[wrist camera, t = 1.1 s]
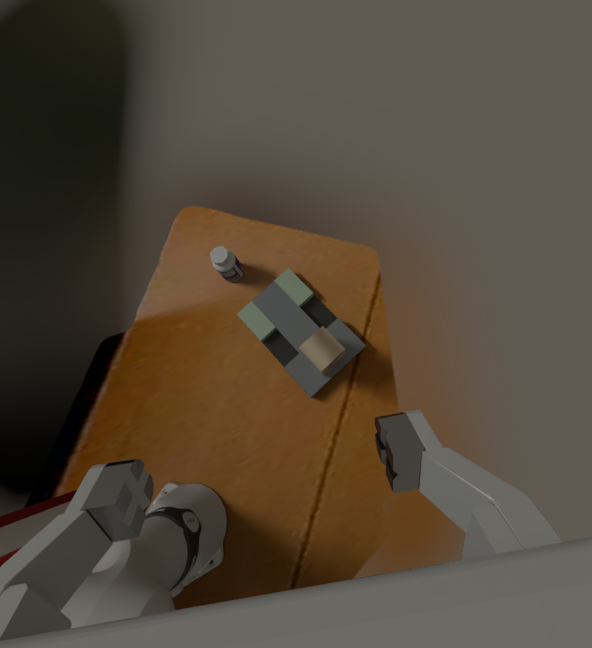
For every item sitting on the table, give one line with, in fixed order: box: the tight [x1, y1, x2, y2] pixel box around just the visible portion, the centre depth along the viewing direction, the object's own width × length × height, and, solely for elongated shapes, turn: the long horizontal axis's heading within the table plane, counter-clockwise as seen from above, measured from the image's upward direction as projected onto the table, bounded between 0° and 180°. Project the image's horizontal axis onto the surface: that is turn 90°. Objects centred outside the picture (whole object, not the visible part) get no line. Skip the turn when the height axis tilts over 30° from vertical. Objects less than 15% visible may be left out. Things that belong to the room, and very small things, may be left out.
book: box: [0, 490, 92, 574], centre depth 50 cm, size 27×8×32 cm, turn 159°
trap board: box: [237, 268, 366, 398], centre depth 70 cm, size 16×25×2 cm, turn 42°
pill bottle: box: [210, 246, 243, 282], centre depth 72 cm, size 5×5×10 cm
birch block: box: [299, 326, 345, 376], centre depth 62 cm, size 6×6×10 cm
